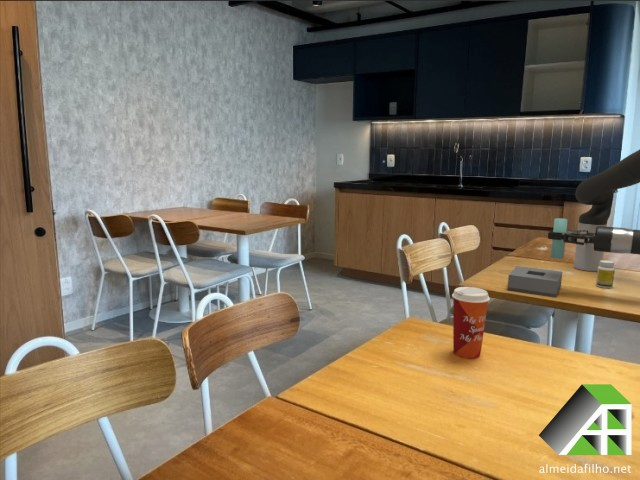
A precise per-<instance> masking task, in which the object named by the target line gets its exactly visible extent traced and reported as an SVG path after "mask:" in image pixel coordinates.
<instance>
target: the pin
mask: <svg viewBox="0 0 640 480" xmlns="http://www.w3.org/2000/svg"><path fill="white" fill-rule="evenodd" d="M567 227H568V218H563V217H562V218H559V217H556V218H554V221H553V229H552V230H553V232H559V233H564V232H565V233H566V230H568V229H567ZM551 240H552V242H551V251H550V257H551V258H552V259H559V260H560V259H564V257H565V247H566V243H565V242H563V241H561V240H562V239H561V240H553V239H551Z"/></svg>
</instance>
